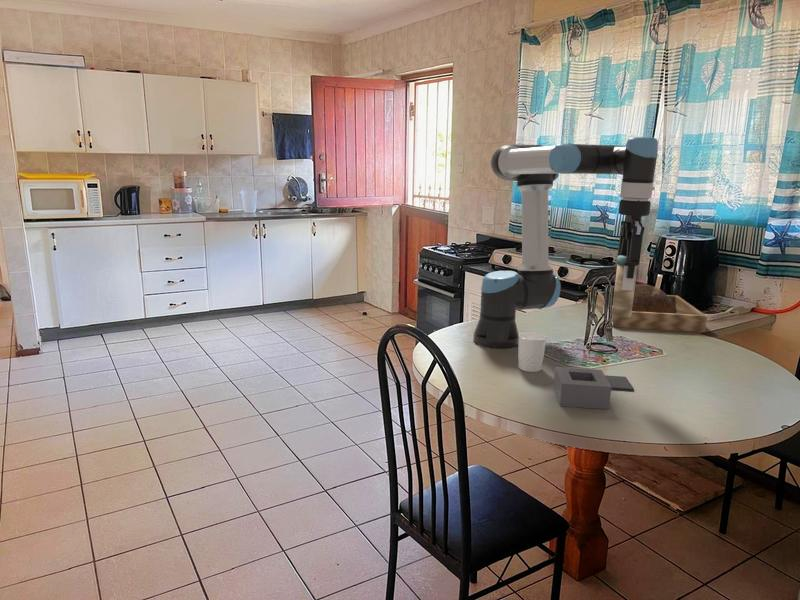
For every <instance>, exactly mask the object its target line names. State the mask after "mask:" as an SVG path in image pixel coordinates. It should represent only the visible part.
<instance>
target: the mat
mask: <svg viewBox="0 0 800 600" xmlns="http://www.w3.org/2000/svg"><path fill="white" fill-rule="evenodd" d="M604 375H605V377H606V379H607V380H608V382H609V384H610V385H611V391H612V390H615V391H629V392H635V388H634V387H633V385H632V384H631V382H630V380H629V379H628V378H627V376H620V375H606V374H604Z"/></svg>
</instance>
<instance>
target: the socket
mask: <svg viewBox="0 0 800 600" xmlns="http://www.w3.org/2000/svg"><path fill="white" fill-rule="evenodd" d="M605 375H606V374H605V373H604V372H603V370H602V369H595V368H580V367H579V368H578V367H568V366H567V367H566V366H565V367H563V366H555V367H554V377H553V379H554V380H553V391H554V393H555V396H556V399H557V402H558V405H559V407H571V408H572V407H573V408H585V409H598V410H610V403H611V393H612V389H611V385H610V384H609V382H608V380H607V379H606V377H605Z"/></svg>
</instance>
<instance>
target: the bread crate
mask: <svg viewBox="0 0 800 600" xmlns="http://www.w3.org/2000/svg"><path fill="white" fill-rule="evenodd" d="M597 292H598V295H597V303H596V307H595V308H596V309H597V311H598V312H599V313H600V314H601V315H602V313H603V306H604V292H605V291H597ZM666 295H667V296H668V297H669V298H670V299H671V301H672V303H673V305H674V308H675V311H676V314H674V313H655V312H637V311H632V313H631V317H630V318H619V317H615V316H613V317H612V322H613V327H612V328H623V329H624V328H628V329H642V330H643V329H644V330H663V331H676V332H677V331H678V332H680V331H681V332H697V333H705V332H706V329H707V328H706V327H707V321H708V315H706V314H705V313H704V312H702V311H701V310H699V309H697V308H696V307H695V306H694V305H692V304H690V302H687V301H686V300H685V299H684V298H682V297H681V296H679V295H675V294H674V295H673V294H671V295H670V294H666Z"/></svg>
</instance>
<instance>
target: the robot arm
mask: <svg viewBox="0 0 800 600" xmlns="http://www.w3.org/2000/svg"><path fill="white" fill-rule="evenodd" d="M658 149H659V141H658V139H657V138H655V137H648V136H647V137H644V136H638V137H637V136H635V137H633V136H632V137H629V138H627V140H626V143H625V145H618V144H617V145H615V144H583V143H582V144H581V143H580V144H579V143H567V142H565V143H558V144H555V145H543V144H516V143H515V144H513V143H512V144H511V143H510V144H505V145H503V146H500V147H498V148H497V149H496V150H495V151H494V152H493V154H492V156H491V160H490V166H491V169H492V172H493V173H494V174H495V176H496V177H498V178H499V179H501V180H504V181H508V182H516V187H517V189H518V191H520V193H521V246H522V247H521V257H522V258H521V262H522V263H521V264H520V266H519V267H518V268H517V272H516V271H514V270H497V271H496V270H495V271H492V272H489V273H486V274H485V275H484V276H483V278H482V283H481V287H480V289H481V292H480V293H481V295H480V308H479V309H480V313H479V319H478V321H477V325H476V327H475V329H474V331H473V339H472V340H473V341H474V343H476V344H478V345H481V346H484V347H487V348H493V349H494V348H496V349H507V348H513V347H516V346H518V344H519V334H520V333H519V330H518V327H517V323H516V315H517V314H516V313H517V311H524V310H536V309H537V310H542V309H547V308H551V307H552V306H554V305H555V304H556V302H558V299H559V297H560V295H561V288H562V287H561V286H562V285H561V280H559V279H560V278H559V276H558V275H557V274H555V273H554V268H553V267H552V266H551V265H550V264H549V192H550V190H551V189H552V188H553V187H554V181H556V180H557V179H558V178H559V176H560V174H561V175H569V174H578V175H580V174H582V175H583V174H584V175H585V174H587V175H588V174H589V175H590V174H591V175H594V174H595V175H622V179H621V186H620V192H619V193H620V194H619V196H620V198H622V199H620V200H619V205H618V210H617V211H618V214H619V215H622V216H625V218H624V220H621V221H620V233H619V241H618V242H619V243H618V250H617V251H618V252H617V257H618V256H620V255H627V258H626V263H623V266H624V275H623V283H622V290H631V291H633V287H634V279H635V271H636V266H637V265H638V266H640V261H641V254H642V246H643V245H642V244H643V237H644V236H643V235H644V233H645V226H643V223H642V217H647V216H649V215H650V211H651V204H652V202H651V201H650V199H652V195H653V194H652V193H653V192H654V191H655V189H656V188H655V186H654V180H655V175H656V174H655V172H656V166H657V159H658V156H659V155H658V153H659V152H658ZM638 266H637V267H638Z"/></svg>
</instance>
